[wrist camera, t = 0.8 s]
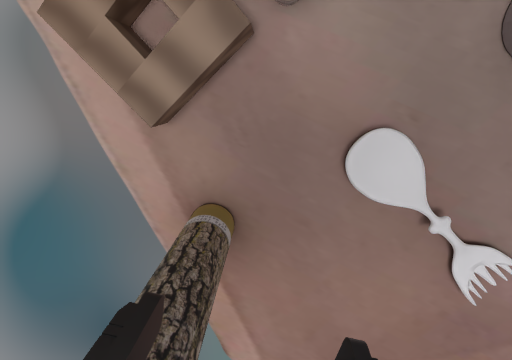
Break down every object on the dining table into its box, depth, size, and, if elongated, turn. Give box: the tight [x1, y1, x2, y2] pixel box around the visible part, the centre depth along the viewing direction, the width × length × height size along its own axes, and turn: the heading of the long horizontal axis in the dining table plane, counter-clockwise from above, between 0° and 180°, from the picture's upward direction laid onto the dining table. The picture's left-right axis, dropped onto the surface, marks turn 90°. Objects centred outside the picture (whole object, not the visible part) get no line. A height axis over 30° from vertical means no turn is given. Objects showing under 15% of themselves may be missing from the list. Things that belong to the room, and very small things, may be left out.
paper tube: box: [135, 204, 234, 360], centre depth 28 cm, size 7×7×25 cm
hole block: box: [37, 0, 254, 127], centre depth 29 cm, size 16×16×5 cm
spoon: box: [345, 128, 512, 306], centre depth 36 cm, size 9×32×4 cm, turn 47°
